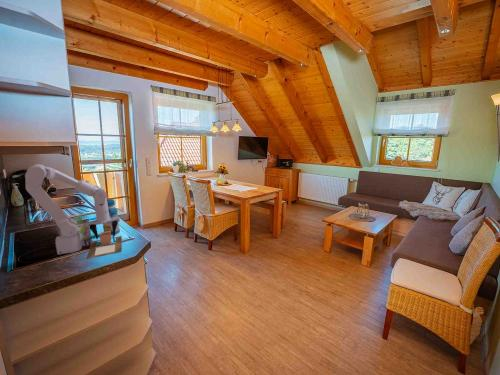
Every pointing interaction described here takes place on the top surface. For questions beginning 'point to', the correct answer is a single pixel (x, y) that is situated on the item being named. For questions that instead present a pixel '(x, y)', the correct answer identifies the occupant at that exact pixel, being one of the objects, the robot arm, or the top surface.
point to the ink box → (82, 228)
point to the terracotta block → (105, 237)
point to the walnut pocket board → (94, 245)
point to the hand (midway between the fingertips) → (106, 236)
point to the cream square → (104, 250)
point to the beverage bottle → (112, 215)
